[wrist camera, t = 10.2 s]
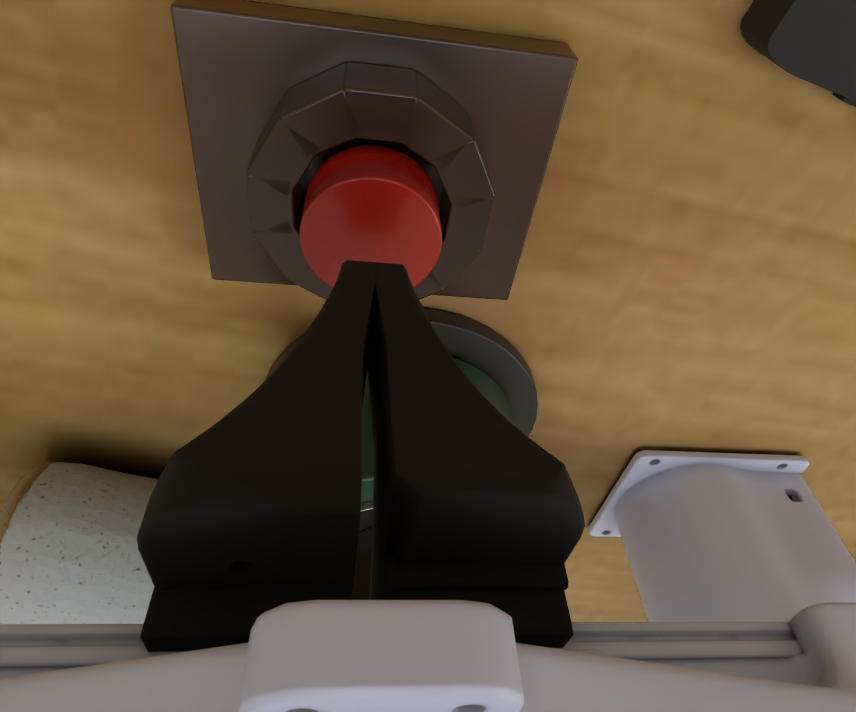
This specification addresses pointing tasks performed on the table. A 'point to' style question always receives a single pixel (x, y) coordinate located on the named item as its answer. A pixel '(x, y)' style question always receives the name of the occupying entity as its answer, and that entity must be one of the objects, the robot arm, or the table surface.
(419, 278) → the switch button
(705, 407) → the table surface
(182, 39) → the switch block
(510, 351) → the kettle base
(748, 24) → the smart home device
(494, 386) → the kettle
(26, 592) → the ceramic mug
